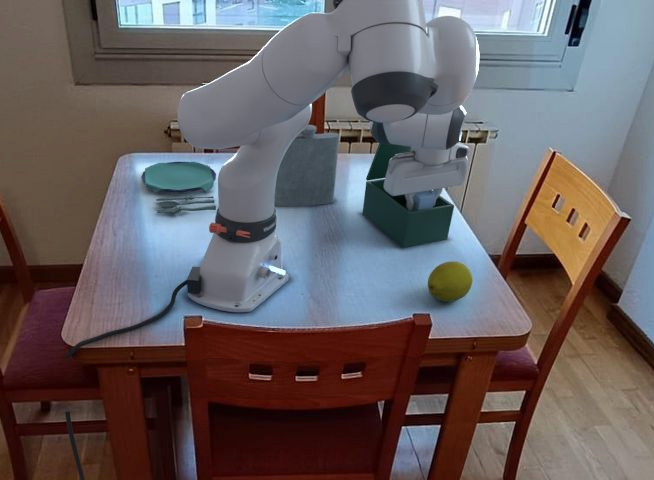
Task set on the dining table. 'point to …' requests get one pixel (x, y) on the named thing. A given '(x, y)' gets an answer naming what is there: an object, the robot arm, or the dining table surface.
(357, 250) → the dining table surface
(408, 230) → the bin
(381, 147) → the bin lid
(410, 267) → the dining table surface
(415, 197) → the block
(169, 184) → the cutlery set
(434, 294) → the lemon
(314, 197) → the hip flask
